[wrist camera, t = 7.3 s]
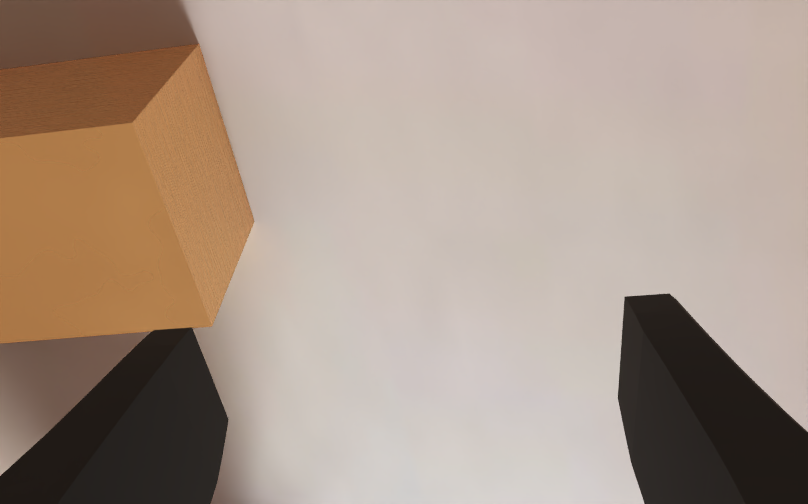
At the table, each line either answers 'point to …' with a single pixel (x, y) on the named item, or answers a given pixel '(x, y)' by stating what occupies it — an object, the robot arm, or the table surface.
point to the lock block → (115, 197)
